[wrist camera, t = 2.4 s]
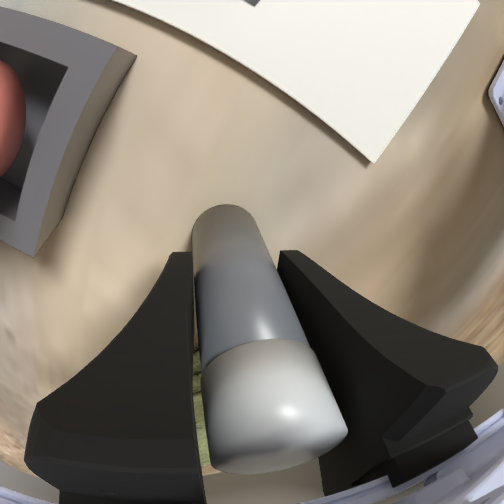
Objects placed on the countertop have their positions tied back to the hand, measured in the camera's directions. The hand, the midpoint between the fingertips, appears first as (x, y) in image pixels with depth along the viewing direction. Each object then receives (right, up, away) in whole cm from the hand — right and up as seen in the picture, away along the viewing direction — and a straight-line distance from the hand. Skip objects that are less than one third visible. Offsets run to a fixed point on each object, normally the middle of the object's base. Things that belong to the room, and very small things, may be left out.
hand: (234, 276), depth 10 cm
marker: (-1, +2, +2) cm, 3 cm away
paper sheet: (+2, +13, -4) cm, 13 cm away
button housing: (-8, +6, -2) cm, 10 cm away
